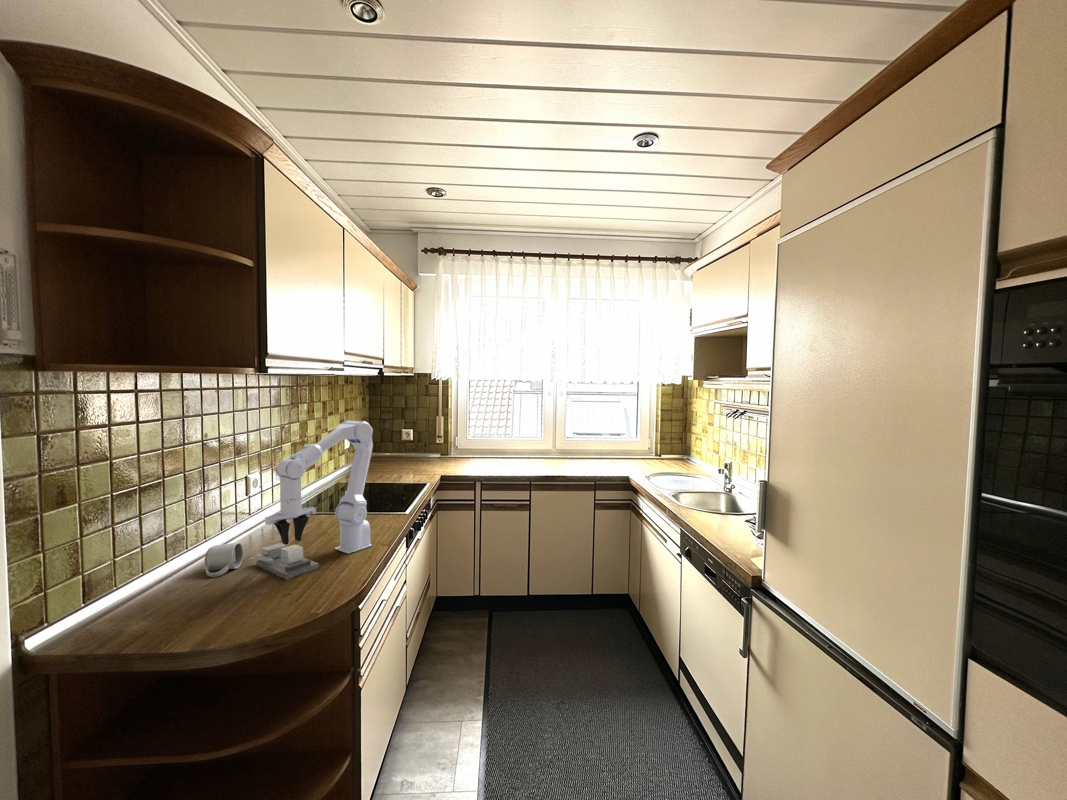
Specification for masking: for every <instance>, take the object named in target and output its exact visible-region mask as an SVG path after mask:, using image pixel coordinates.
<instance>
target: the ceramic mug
mask: <svg viewBox="0 0 1067 800" xmlns="http://www.w3.org/2000/svg"><path fill="white" fill-rule="evenodd" d="M243 556H244V550H243V545H242V544H241V542H231V543H224V544H216V545H213V546H210V547H209V548H208V550H207V551H206V553H205V556H204V564H205V573H206V575H207V576H208V577H210V578H217V577H219V576H223V575H224V574H225V573H227V572H228V570H236V569H238V568H239V567H240V566H241V564H242V562H243V558H244V557H243ZM210 570H211V571H216V572H210Z"/></svg>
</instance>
